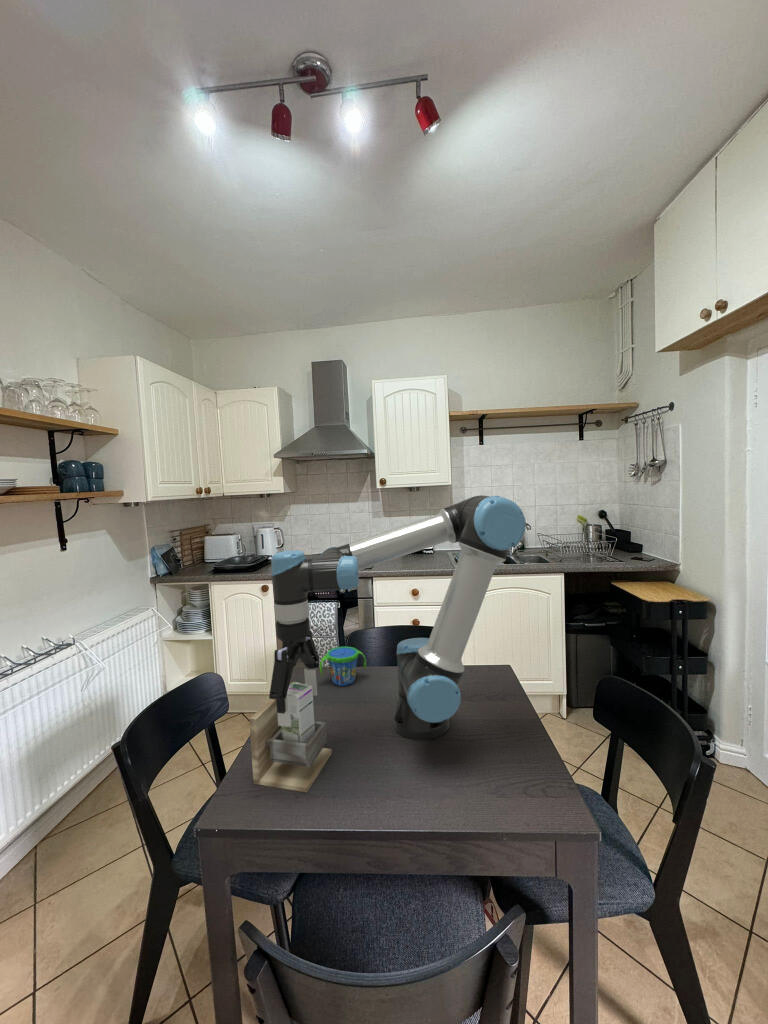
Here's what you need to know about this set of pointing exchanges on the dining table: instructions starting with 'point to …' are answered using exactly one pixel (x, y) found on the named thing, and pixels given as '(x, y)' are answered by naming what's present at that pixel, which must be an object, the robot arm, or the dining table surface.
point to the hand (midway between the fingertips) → (299, 709)
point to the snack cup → (342, 664)
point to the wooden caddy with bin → (285, 752)
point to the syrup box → (300, 714)
